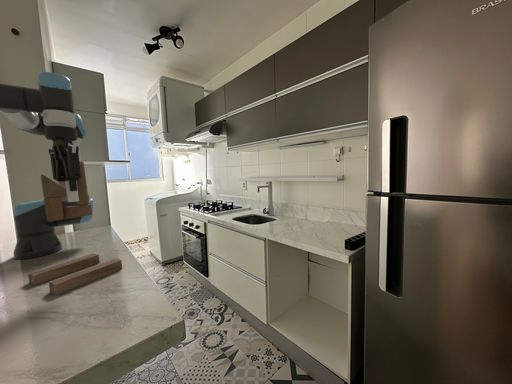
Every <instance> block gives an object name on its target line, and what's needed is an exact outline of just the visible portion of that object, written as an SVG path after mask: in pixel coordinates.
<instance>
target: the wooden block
mask: <svg viewBox="0 0 512 384" xmlns="http://www.w3.org/2000/svg"><path fill="white" fill-rule="evenodd" d="M84 163H85V162H84V161H82V160H81V161H79V165H80V175H81V178H78V180H77V187H78V196H79V201H76V202H75V205H76V206H68V207H62V201H61V196H67V193H66V189H65V188H64V187H62V186H60V185H59V184H58V182H55V181H54V180H52V179H51V178H49V177H48V176H46V175H44V174H40V181H41V187H42V195H43V199H44V203H45V210H46V216H47V220H48V221H49V222H51V221H57V220H63V219H66V218H76V217H82V216H89V215H92V209H91V205H90V204H89V198H90V197H89V198H88V194H89V191H88V185H87V184H88V183H87V178H86V177H87V176H86V169H85V164H84ZM92 216H93V215H92Z"/></svg>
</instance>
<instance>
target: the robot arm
mask: <svg viewBox="0 0 512 384" xmlns="http://www.w3.org/2000/svg"><path fill="white" fill-rule="evenodd" d="M37 80H38V81H37V84H38V88H33V87H25V86H20V85H14V84H13V85H12V84H8V83H7V84H6V83H0V113H1V114H2V115H3V116H5V118H6V120H7V122H8V123H9V124H10V125H12V126H13V127H14V128H16V129H17V130H20V131H22V132H25V133H28V134H32V135H37V136H43V137H45V139H47V140H49V141H52V148H51V149H50V148H49V149H48V153H49V158H50V165H51V171H52V172H51V173H52V179H53V181H54V180H55V181H56V182H57V184H59V185H60V186H62V187H64V188H65V189H66V193H67V196H61V201H62V207H68V206H76V205H75V202H76V201H79V196H78V187H77V180H78V178H81V175H80V165H79V161H82V158H81V148H80V144H81V143H82V142H83V139H85V138H86V137H87V136H86V130H85V125H84V123H83V118H82V117H81V115H79V114H78V113H75V108H74V97H73V96H74V95H73V87H72V82H71V79H69V78H68V77H67V76H65V75H63V74H59V73H57V72H52V71H51V72H50V71H41V72H39V73H38V74H37ZM88 198H89V204H90V205H91V209H92V215H89V216H82V217H76V218H66V219H63V220H57V221H51V222H49V221H48V220H47V216H46V210H45V203H44V198H43V199H38V200H32V201H28V202H27V201H26V202H23V203H18V204H16V205H15V206H14V207H13V214H14V215H13V217H14V220H15V221H14V223H15V228H16V229H15V230H16V234H17V240H16V244H15V247H14V249H13V258H14V259H16V260H26V259H27V260H28V259H34V258H38V257H39V258H40V257H43V256H47V255H51V254H54V253H57V252H58V251H61V250H63V243H62V242H61V240H60V238H59V237H58V235H57V234H56V229H55V228H57V227H65V226H71V225H81V224H84V223H85V224H86V223H89V222H91V221H92V219H93V216H94V215H93V212H94V198H91V197H90V194H89V193H88Z"/></svg>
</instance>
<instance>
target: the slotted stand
mask: <svg viewBox="0 0 512 384" xmlns="http://www.w3.org/2000/svg"><path fill="white" fill-rule="evenodd" d="M122 263H123V262H122V259H118V258H112V259H109V260H105V261H103V262H100V255H99V254H97V253H92V252H91V253H90V254H87V255H83V256H80V257H76V258H73V259H70V260H67V261H64V262H60V263H57V264H54V265H51V266H47V267H44V268H42V269H38V270H35V271H32V272H28V274H27V275H28V281H29V284H31V285H33V286H37V285H39V284H42V283H45V282H48V287H49V293H51V294H52V295H55V296H59V295H61V294H62V293H66V292H68V291H71V290H72V289H75V288H77V287H80V286H82V285H85V284H88V283H90V282H93V281H94V280H97V279H99V278H102V277H104V276H107V275H110V274H112V273H114V272H116V271H119V270H122V269H123V264H122Z"/></svg>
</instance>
